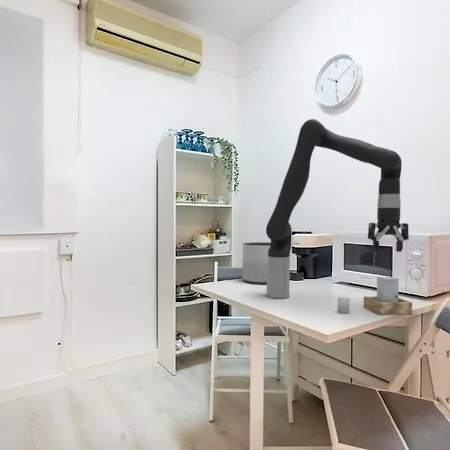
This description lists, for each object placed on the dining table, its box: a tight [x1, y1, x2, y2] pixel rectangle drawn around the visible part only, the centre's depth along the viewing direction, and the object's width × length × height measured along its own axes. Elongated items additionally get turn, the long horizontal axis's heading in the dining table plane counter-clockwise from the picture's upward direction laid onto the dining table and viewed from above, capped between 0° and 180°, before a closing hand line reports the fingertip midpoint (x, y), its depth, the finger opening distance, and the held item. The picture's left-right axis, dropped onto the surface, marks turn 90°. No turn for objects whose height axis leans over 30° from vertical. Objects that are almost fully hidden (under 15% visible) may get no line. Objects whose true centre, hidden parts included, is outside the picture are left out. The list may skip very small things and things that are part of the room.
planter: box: [241, 241, 271, 285], centre depth 180 cm, size 23×23×20 cm
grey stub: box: [337, 296, 351, 315], centre depth 120 cm, size 4×4×5 cm
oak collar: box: [363, 295, 413, 316], centre depth 123 cm, size 12×10×4 cm
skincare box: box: [376, 276, 399, 303], centre depth 123 cm, size 6×4×12 cm
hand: (387, 251), depth 122 cm, fingers open, 8 cm apart
